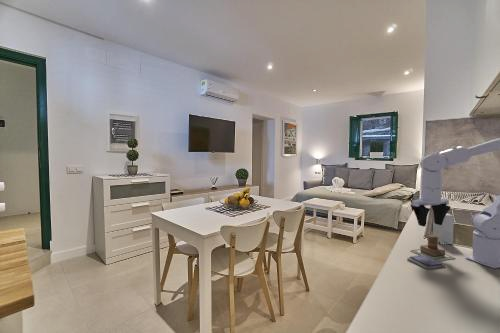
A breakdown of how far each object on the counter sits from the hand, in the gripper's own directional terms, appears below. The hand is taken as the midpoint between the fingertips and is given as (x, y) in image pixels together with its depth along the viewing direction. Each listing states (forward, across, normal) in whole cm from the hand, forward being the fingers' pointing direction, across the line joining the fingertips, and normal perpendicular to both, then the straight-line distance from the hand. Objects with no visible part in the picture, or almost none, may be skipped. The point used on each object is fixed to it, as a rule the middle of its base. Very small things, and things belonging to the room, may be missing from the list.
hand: (430, 225), depth 83 cm
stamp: (+10, 0, +1) cm, 10 cm away
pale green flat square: (+10, 0, +1) cm, 10 cm away
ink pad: (+10, +10, +6) cm, 15 cm away
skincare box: (+11, -17, -8) cm, 21 cm away
